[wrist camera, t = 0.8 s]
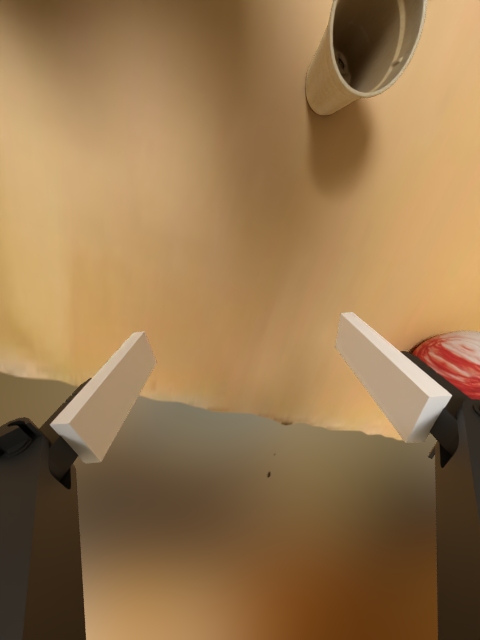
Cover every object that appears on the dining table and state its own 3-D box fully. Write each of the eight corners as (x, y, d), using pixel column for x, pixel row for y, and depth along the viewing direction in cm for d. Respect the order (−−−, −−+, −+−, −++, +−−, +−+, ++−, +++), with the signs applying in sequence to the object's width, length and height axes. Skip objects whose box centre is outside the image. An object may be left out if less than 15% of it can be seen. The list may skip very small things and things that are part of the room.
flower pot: (308, 9, 22) (361, -100, 15) (374, 47, 24) (449, -32, 17) (283, 117, 26) (314, 74, 19) (341, 141, 28) (390, 111, 21)
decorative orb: (398, 389, 58) (481, 462, 40) (377, 350, 49) (472, 422, 32) (467, 348, 54) (591, 409, 37) (457, 298, 45) (616, 347, 28)
